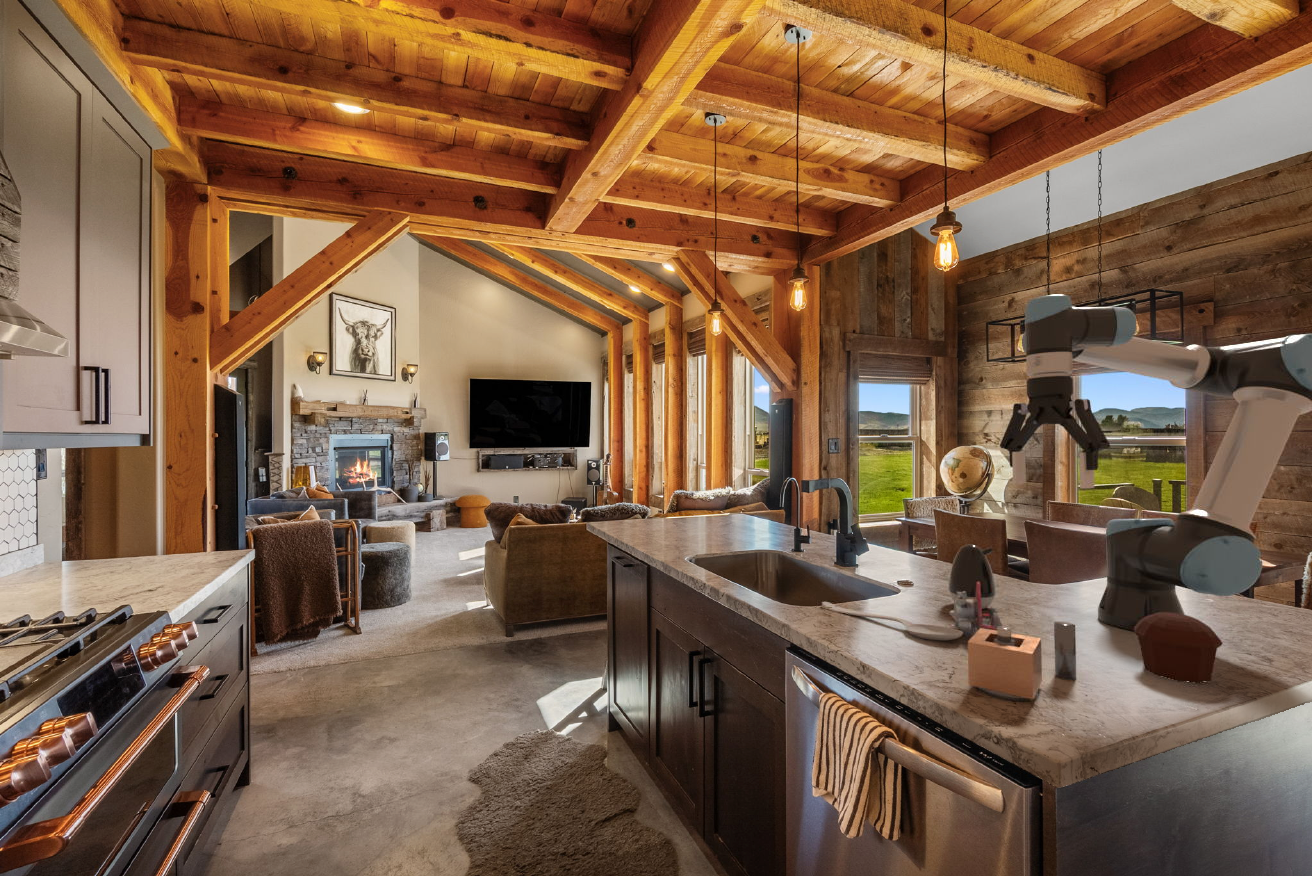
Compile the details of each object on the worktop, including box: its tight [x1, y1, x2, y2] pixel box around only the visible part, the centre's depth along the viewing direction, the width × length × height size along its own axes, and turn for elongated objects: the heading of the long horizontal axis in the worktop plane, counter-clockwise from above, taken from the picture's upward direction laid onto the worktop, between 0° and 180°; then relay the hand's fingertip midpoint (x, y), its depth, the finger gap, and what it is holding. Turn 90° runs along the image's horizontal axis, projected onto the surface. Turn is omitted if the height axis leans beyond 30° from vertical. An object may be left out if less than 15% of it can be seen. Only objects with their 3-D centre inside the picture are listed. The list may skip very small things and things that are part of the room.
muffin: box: [1133, 612, 1224, 684], centre depth 103 cm, size 12×11×10 cm
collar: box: [967, 628, 1043, 700], centre depth 97 cm, size 9×9×7 cm
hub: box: [974, 625, 1039, 702], centre depth 97 cm, size 9×9×10 cm
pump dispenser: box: [948, 543, 997, 610], centre depth 145 cm, size 10×10×15 cm
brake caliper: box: [949, 582, 1003, 640], centre depth 125 cm, size 11×11×12 cm
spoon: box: [821, 601, 964, 641], centre depth 133 cm, size 35×8×3 cm, turn 34°
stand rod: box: [1053, 621, 1077, 681], centre depth 102 cm, size 3×3×9 cm
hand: (1051, 485), depth 115 cm, fingers open, 13 cm apart
